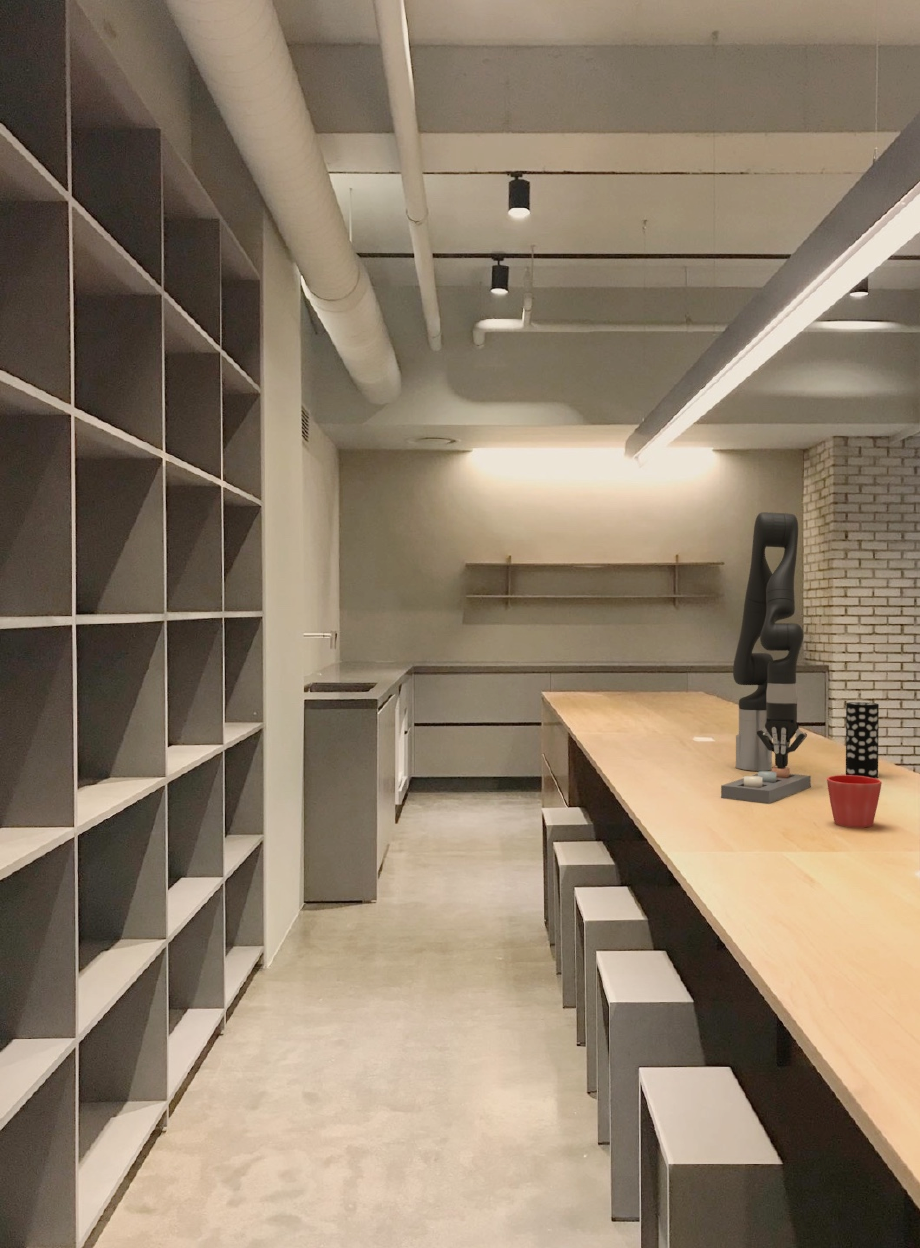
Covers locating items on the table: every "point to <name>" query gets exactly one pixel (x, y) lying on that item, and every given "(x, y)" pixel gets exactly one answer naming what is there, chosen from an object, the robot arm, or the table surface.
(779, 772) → the terracotta button
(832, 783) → the flower pot
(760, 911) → the table surface
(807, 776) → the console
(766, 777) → the slate button
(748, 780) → the offwhite button
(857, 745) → the white-spotted black cylinder
